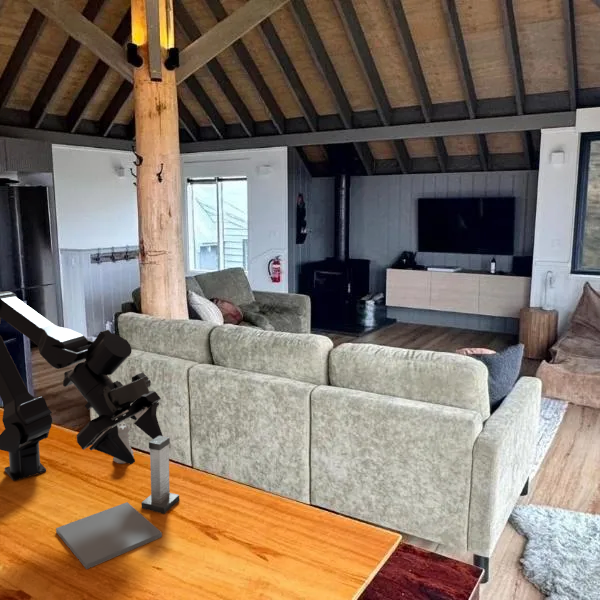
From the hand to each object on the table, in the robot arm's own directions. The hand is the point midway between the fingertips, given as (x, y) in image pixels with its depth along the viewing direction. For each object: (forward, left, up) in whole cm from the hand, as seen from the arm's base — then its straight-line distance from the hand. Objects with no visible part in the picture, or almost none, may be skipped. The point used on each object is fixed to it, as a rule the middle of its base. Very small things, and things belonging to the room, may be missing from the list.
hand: (148, 452), depth 104 cm
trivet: (+5, -10, -10) cm, 15 cm away
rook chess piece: (-20, +4, -10) cm, 23 cm away
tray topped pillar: (+2, +1, -10) cm, 10 cm away
